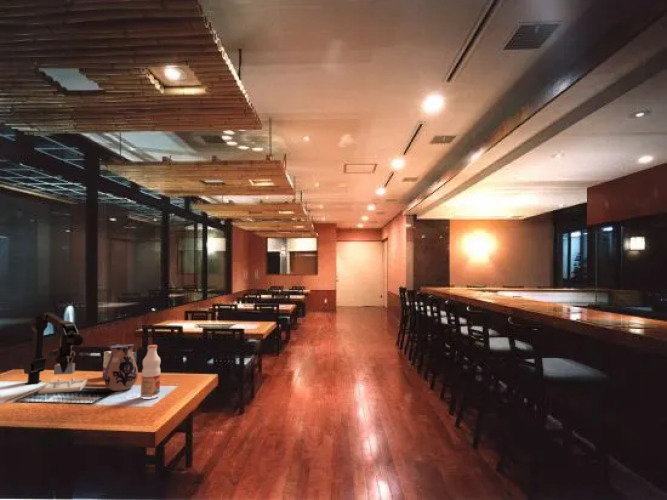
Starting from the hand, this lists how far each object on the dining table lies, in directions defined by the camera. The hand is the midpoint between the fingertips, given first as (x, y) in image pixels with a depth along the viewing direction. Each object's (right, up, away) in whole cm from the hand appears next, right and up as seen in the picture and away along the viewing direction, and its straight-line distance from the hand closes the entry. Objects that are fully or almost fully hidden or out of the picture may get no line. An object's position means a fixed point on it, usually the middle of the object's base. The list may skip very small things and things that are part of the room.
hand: (64, 371), depth 232 cm
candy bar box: (+14, -12, +24) cm, 30 cm away
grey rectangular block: (0, -1, 0) cm, 1 cm away
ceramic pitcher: (+31, -11, +1) cm, 33 cm away
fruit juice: (+56, -10, -14) cm, 59 cm away
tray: (0, -10, -1) cm, 10 cm away
